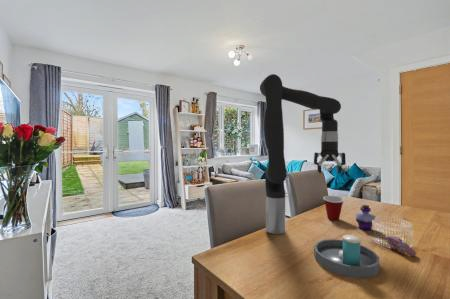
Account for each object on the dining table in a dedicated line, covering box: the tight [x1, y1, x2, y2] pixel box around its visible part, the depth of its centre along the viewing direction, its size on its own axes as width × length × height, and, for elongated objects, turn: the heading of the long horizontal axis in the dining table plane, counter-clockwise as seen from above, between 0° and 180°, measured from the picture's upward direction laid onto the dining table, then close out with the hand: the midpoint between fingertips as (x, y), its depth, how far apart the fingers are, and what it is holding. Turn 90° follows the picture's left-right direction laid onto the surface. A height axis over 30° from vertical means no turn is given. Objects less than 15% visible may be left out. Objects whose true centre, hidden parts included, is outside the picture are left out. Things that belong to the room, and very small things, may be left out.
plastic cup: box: [322, 195, 345, 222], centre depth 126 cm, size 11×11×12 cm
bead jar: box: [342, 234, 362, 266], centre depth 76 cm, size 5×5×10 cm
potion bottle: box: [355, 204, 376, 232], centre depth 112 cm, size 9×9×12 cm
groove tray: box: [313, 238, 380, 279], centre depth 82 cm, size 21×21×4 cm
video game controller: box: [384, 234, 417, 257], centre depth 89 cm, size 10×5×7 cm, turn 6°
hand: (329, 173), depth 111 cm, fingers open, 8 cm apart
